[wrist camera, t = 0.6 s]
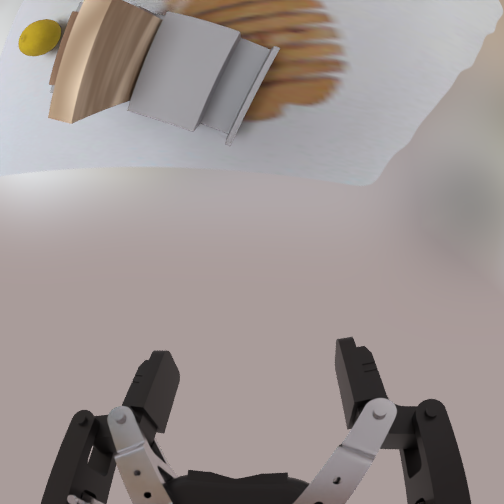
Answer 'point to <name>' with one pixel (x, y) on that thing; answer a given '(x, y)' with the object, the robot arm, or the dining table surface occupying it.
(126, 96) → the wooden block
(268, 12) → the dining table surface
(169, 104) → the rack
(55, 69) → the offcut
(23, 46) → the lemon
